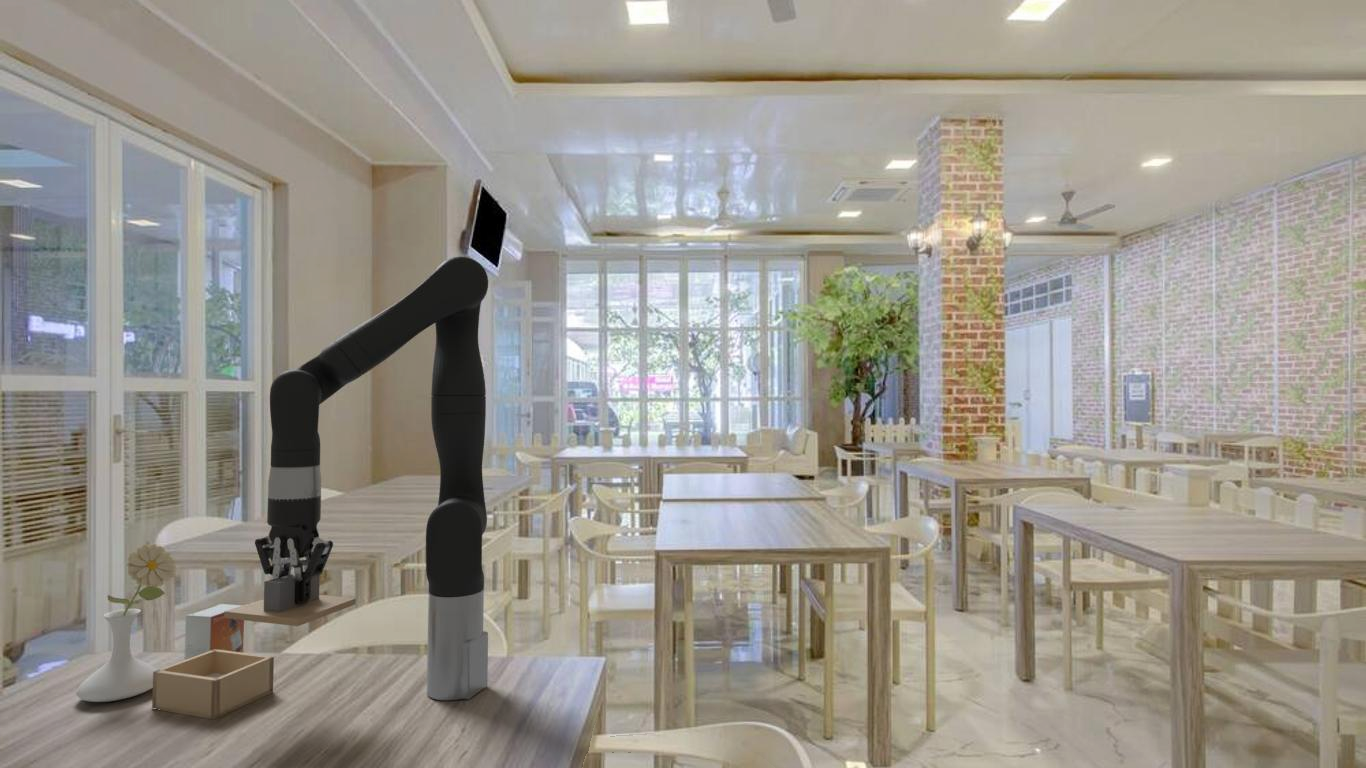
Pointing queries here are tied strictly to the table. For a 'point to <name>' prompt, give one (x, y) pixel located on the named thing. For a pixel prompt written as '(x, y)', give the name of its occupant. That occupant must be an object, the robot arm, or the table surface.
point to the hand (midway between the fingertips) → (292, 601)
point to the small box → (213, 631)
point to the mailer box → (212, 683)
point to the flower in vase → (129, 632)
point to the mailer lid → (289, 604)
